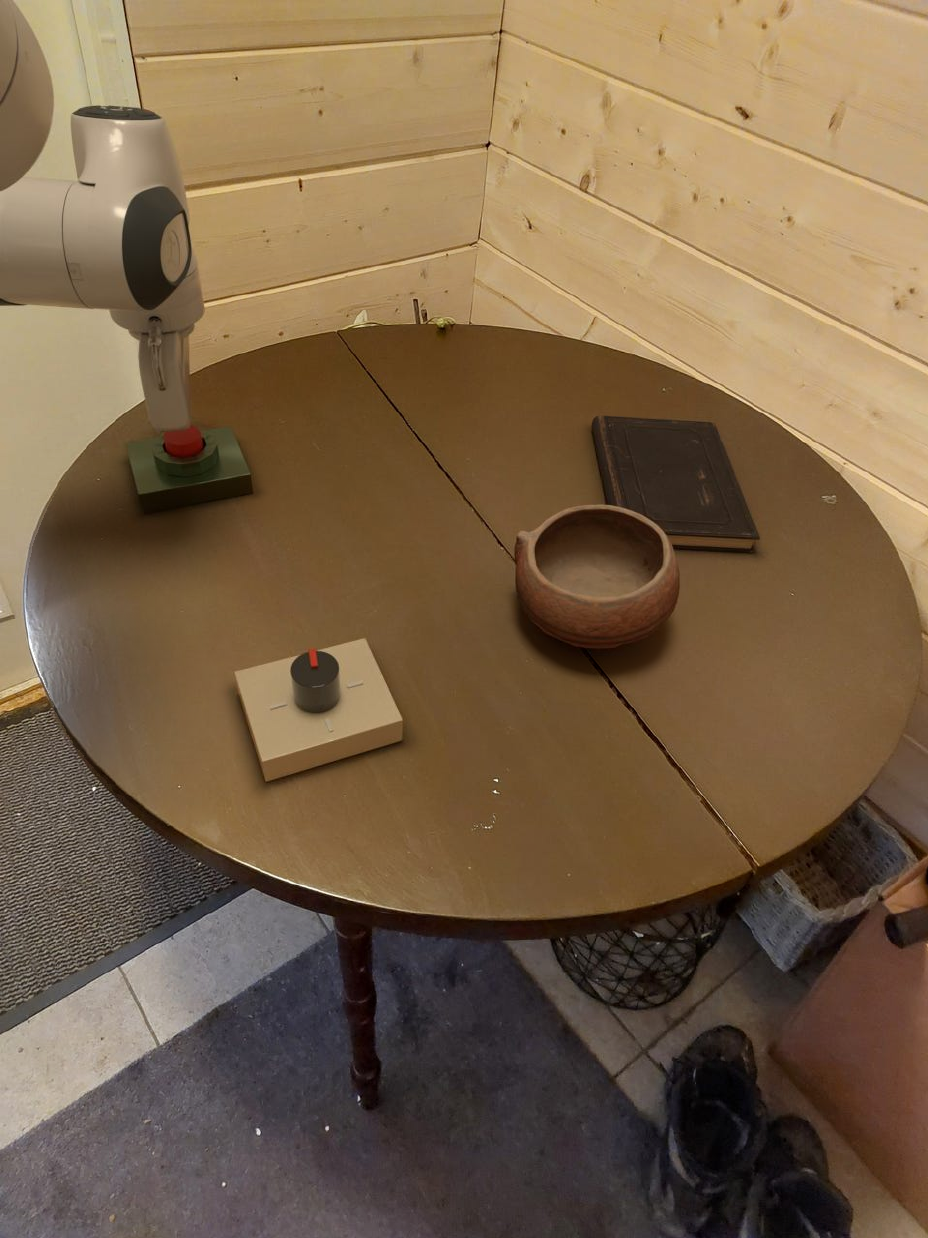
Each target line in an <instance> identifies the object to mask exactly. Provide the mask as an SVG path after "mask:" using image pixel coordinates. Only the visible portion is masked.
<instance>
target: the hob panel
mask: <svg viewBox="0 0 928 1238" xmlns="http://www.w3.org/2000/svg"><path fill="white" fill-rule="evenodd" d="M316 651H323V652H326V653H329V654H330V655H332V656H333V657H334V658H335V659H336V660H337V662H338V664H339V673H340V690H341V696H340V699H339V701H338V703H337V704H336V705H335V706H334V707H333V708H332V709H330V710H328V711H326V712H322V713H309V712H306V711H304V710H302V709H300V708H299V707H298V706H297V705H296V703H295V701H294V698H293V689H292V681H291V673H290V668H291V665H292V663H293V661H294V660H295V659H296V658H297V657H298V656H300V655H301V654H298V655H295V656H289V657H285V658H283V659H279V660H275V661H270V662H267V663H262V664H260V665H255V666H251V667H248V668H244V669H240V670H236V671H234V679H235V683H236V684H235V685H236V688H237V692H238V696H239V700H240V703H241V707H242V709H243V713H244V717H245V720H246V722H247V726H248V729H249V733H250V736H251V739H252V742H253V745H254V749H255V752H256V755H257V759H258V761H259V765H260V768H261V771H262V774H263V778H264V782H266V783H267V782H271V781H273V780H277V779H280V778H283V777H287V776H291V775H294V774H297V773H300V772H304V771H306V770H310V769H313V768H317V767H319V766H324V765H326V764H329V763H333V762H335V761H339V760H342V759H347V758H349V757H352V756H355V755H359V754H362V753H365V752H368V751H373V750H375V749H378V748H381V747H385V746H389V745H392V744H395V743H398V742H401V741H403V729H404V726H403V725H404V719H403V717H402V715H401V712H400V710H399V708H398V706H397V704H396V702H395V700H394V697H393V695H392V692H391V691H390V689H389V687H388V685H387V683H386V680H385V678H384V676H383V674H382V671H381V670H380V667H379V665H378V663H377V660H376V659H375V655H374V653H373V652H372V650H371V648H370V645H369V643H368V641H367V639H366V637H363V638H360V639H355V640H352V641H347V642H345V643H340V644H337V645H333V646H329V647H325V648H321V649H317V650H316Z"/></svg>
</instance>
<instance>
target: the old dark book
mask: <svg viewBox="0 0 928 1238" xmlns="http://www.w3.org/2000/svg"><path fill="white" fill-rule="evenodd" d="M591 432H592V436H593V441H594V446H595V451H596V456H597V461H598V467H599V471H600V476H601V480H602V485H603V490H604V496H605V500H606V505H612V506H617V507H621V508H625V509H628V510H631V511H634V512H636V513H639V514H641V515H643V516H644V517H646V518H648V519H649V520H651V521H653V522H654V523H655V524H656V525H658V526H659V527H660V528H661V529H662V530H663V531H664V533H665V534H666V535H667V537H668V538H669V540H670V542H671V544H672V547H673V549H674V550H693V551H711V552H730V553H748V554H749V553H751V554H753V553H755V549H754V546H753V545H754V542H755V541H760V540H761V537H760V534H759V531H758V528H757V526H756V524H755V521H754V518H753V516H752V514H751V512H750V508H749V506H748V503H747V500H746V498H745V496H744V494H743V491H742V489H741V485H740V483H739V480H738V477H737V475H736V473H735V471H734V468H733V465H732V463H731V460H730V457H729V455H728V451H727V450H726V447H725V445H724V442H723V439H722V437H721V434H720V431H719V429H718V427H717V424H716V422H714V421H696V420H683V419H682V420H681V419H665V418H647V417H631V416H614V415H601V414H600V415H596V416H594V418H592V422H591Z"/></svg>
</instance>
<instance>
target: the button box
mask: <svg viewBox="0 0 928 1238" xmlns="http://www.w3.org/2000/svg"><path fill="white" fill-rule="evenodd" d="M198 429H199V430H200V431H201V435H202V441H203V449H202V451H201V452H199V453H197V454H195V455H193V456H187V457H176V456H171V455H170V454H168V452H167V451H166V446H165V442H164V437H163V435H164V433H165V432H162V434H161V433H160V434H158V435H157V436H156V437H153V438H148V439H142V440H136V441H130V442H129V441H128V442H125V447H126V451H127V456H128V460H129V463H130V467H131V472H132V475H133V479H134V483H135V487H136V490H137V494H138V495H137V496H138V498H139V501H140V505H141V506H140V507H141V510H142V513H143V514H144V515H145V514H146V515H147V514H150V513H151V514H152V513H156V512H161V511H167V510H172V509H177V508H182V507H186V506H188V507H189V506H193V505H197V504H203V503H208V502H213V501H220V500H224V499H230V498H235V497H239V496H245V495H250V494H253V493H254V490H253V489H254V487H253V481H252V475H251V471H250V469H249V466H248V464H247V462H246V459H245V457H244V454H243V452H242V450H241V447H240V445H239V442H238V440H237V437H236V435H235V433H234V430H233V427H232V426H231V425H227V426H222V427H221V426H220V427H215V428H210V429H209V428H208V429H204V428H198Z"/></svg>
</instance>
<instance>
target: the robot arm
mask: <svg viewBox="0 0 928 1238" xmlns="http://www.w3.org/2000/svg"><path fill="white" fill-rule="evenodd" d="M50 71H51V70H50V68H49V65H48V63H47V59H46V57H45V54H44V50H42V47H41V45H40V43H39V40H38V37H37V36H36V34H35V31H33V28H32V27H31V25H30V23H29V22H28V20H27V18H26V17H25V15H24V14H23V12H22V10H21V9H20V8H19V7H18V5H17V3H16V2H15V0H0V306H1V307H12V306H13V307H15V306H16V307H19V306H21V307H22V306H23V307H24V306H41V307H43V306H44V307H57V308H69V309H70V308H71V309H72V308H73V309H86V310H107V311H109V314H110V317H111V320H112V321H113V323H115V324H116V325H117V326H119V327H120V328H123V329H125V330H127V332H128V334H129V335H130V336H131V337H132V338H133V339H135V340H137V341H138V355H137V356H138V357H137V358H138V369H139V376H140V382H141V387H142V391H143V397H144V401H145V407H146V410H147V415H148V421H149V424H150V426H151V428H152V429H153V431H155V432H159V433H165V432H168V431H181V430H187V429H188V428H189V427H190V425H191V382H190V381H191V378H190V377H191V376H190V375H191V373H190V371H191V370H190V366H191V365H190V336H191V334H192V333H193V332H194V330H195V324H197V323H198V322H199V321H200V320H201V319H202V318H203V317H204V314H205V310H206V308H205V302H204V301H205V300H204V295H203V289H202V284H201V275H200V271H199V264H198V259H197V256H196V253H195V251H194V249H193V246H192V240H191V239H192V238H191V234H190V208H189V204H188V198H187V194H186V193H187V192H186V189H185V182H184V177H183V175H182V174H183V173H182V170H181V166H180V162H179V158H178V155H177V151H176V149H175V144H174V141H173V139H172V135H171V133H170V130H169V127H168V124H167V122H166V121H165V118H163V117H162V116H160V115H159V114H157V113H156V112H154V111H152V110H150V109H146V108H142V107H141V108H140V107H132V106H119V105H88V106H83V107H80V108H78V109H77V110H75V111H74V112H72V113H71V114H70V134H71V143H72V152H73V159H74V165H75V171H76V176H77V180H68V179H56V178H43V177H42V178H41V177H31V176H25V175H27V173H28V172H30V170H31V169H32V168H33V166H35V164H36V163H37V161H38V160H39V158H40V156H41V155H42V153H43V151H44V150H45V147H46V144H47V143H48V140H49V136H50V133H51V130H52V125H53V118H54V109H55V96H54V95H55V94H54V85H53V80H52V75H51V72H50Z"/></svg>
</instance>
